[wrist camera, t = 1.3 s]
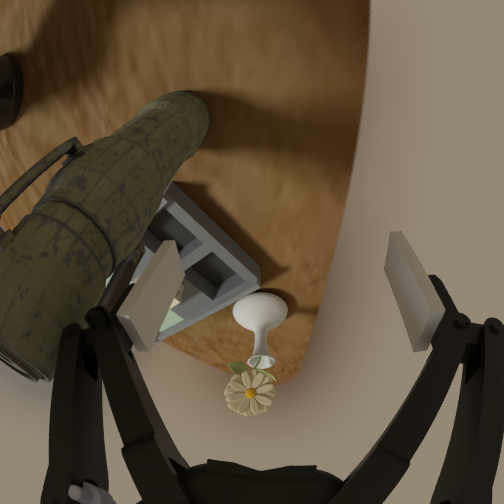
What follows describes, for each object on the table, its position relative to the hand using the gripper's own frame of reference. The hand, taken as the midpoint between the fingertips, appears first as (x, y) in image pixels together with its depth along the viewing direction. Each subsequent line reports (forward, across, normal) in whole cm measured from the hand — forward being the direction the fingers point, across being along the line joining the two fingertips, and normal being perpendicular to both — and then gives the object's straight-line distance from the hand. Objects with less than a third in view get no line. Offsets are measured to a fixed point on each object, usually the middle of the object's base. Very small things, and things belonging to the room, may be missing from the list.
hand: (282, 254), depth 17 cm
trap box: (+26, -24, -19) cm, 40 cm away
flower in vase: (+29, -8, -31) cm, 43 cm away
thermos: (+24, -14, +7) cm, 28 cm away
